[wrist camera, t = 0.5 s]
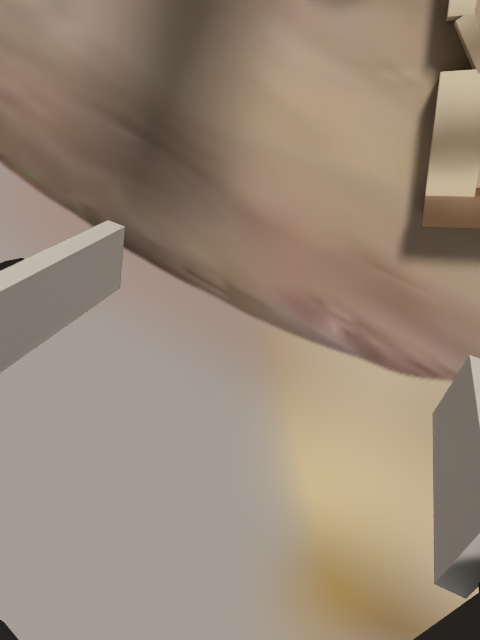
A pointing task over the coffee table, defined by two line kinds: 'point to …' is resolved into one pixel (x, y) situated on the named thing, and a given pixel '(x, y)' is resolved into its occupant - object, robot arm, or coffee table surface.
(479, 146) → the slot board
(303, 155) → the coffee table surface
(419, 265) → the coffee table surface
